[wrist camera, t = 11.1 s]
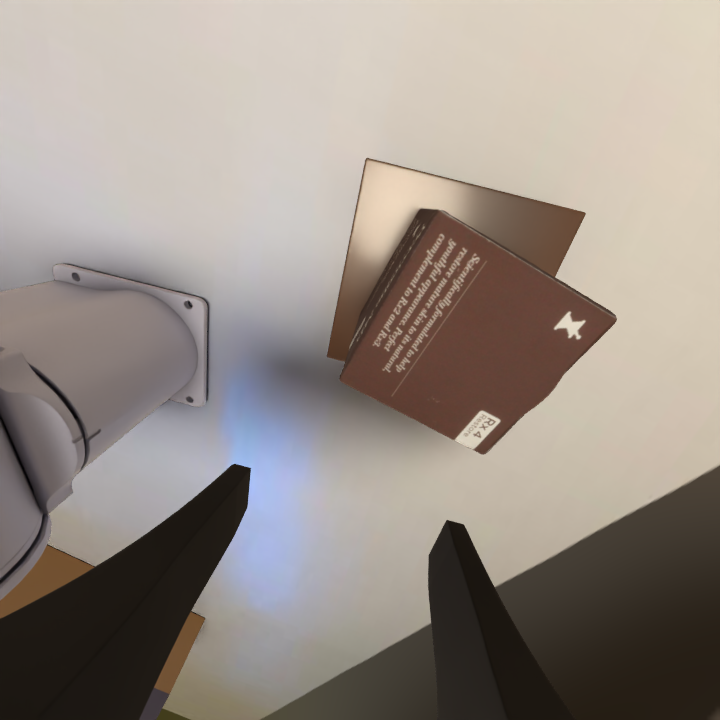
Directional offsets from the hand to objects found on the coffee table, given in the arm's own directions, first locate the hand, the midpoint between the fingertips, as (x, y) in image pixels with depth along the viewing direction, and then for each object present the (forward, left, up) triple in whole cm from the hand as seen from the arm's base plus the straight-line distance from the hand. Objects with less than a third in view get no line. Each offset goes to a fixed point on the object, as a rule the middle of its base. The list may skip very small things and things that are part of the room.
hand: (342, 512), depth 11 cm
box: (+2, +7, -9) cm, 11 cm away
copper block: (+2, +7, -10) cm, 13 cm away
